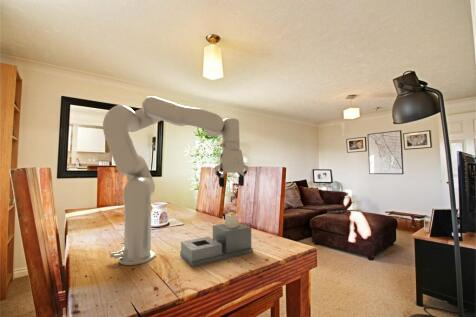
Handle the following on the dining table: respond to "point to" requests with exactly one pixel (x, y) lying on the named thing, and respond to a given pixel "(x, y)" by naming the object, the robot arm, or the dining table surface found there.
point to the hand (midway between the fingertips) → (231, 186)
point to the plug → (231, 220)
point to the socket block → (218, 245)
